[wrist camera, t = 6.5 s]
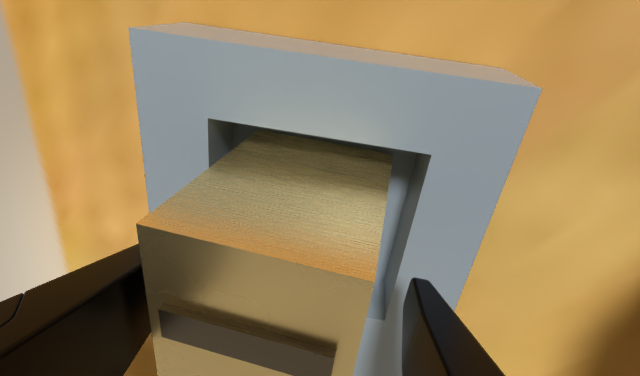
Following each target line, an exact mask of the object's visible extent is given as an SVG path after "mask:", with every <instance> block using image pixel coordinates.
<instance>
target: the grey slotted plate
mask: <svg viewBox="0 0 640 376" xmlns="http://www.w3.org/2000/svg"><path fill="white" fill-rule="evenodd" d="M129 37H130V45H131V54H132V63H133V72H134V81H135V90H136V99H137V108H138V117H139V126H140V135H141V143H142V152H143V161H144V170H145V179H146V188H147V197H148V206H149V214H150V213H151V212H152V211H153V210H155V209H156V208H157V207H159V206H160V205H161V204H163V203H164V202H165V201H166V200H168V199H169V198H170V197H172V196H173V195H174V194H176V193H177V192H178V191H179V190H181V189H182V188H183V187H185V186H186V185H187V184H189V183H190V182H191V181H192V180H194V179H195V178H196V177H198V176H199V175H200V174H202V173H203V172H204V171H205V170H207V169H208V168H209V167H211V166H212V165H213V164H215V163H216V162H217V161H218V160H220V159H221V158H222V157H224V156H225V155H226V154H228V153H229V152H230V151H231V150H233V149H234V148H235V147H237V146H238V145H239V144H241V143H242V142H243V141H244V140H246V139H247V138H248V137H250V136H251V135H252V134H254V133H255V132H256V131H257V130H265V131H270V132H275V133H281V134H286V135H291V136H296V137H302V138H307V139H312V140H317V141H323V142H328V143H333V144H338V145H344V146H349V147H354V148H359V149H365V150H370V151H375V152H380V153H386V154H391V155H393V162H392V169H391V176H390V183H389V189H388V196H387V203H386V210H385V216H384V223H383V230H382V237H381V243H380V250H379V257H378V264H377V270H376V277H375V283H374V288H373V292H372V296H371V300H370V304H369V309H368V313H367V317H366V321H365V325H364V329H363V334H362V338H361V342H360V346H359V350H358V355H357V359H356V363H355V367H354V371H353V376H402V322H403V304H404V300H405V297H406V293H407V290H408V287H409V283H410V281H411V279H412V278H414V277H416V278H421V279H426V280H429V281H430V282H431V283H432V285H433V286H434V287H435V288H436V290H437V291H438V292H439V293H440V295H441V296H442V297H443V298H444V300H445V301H446V302H447V303H448V305H449V306H450V307H451V308H452V310H453V311H454V310H455V307H456V305H457V302H458V300H459V297H460V295H461V292H462V290H463V287H464V285H465V282H466V280H467V277H468V275H469V272H470V270H471V267H472V265H473V262H474V259H475V257H476V254H477V252H478V249H479V247H480V244H481V242H482V239H483V237H484V234H485V232H486V229H487V227H488V224H489V222H490V219H491V217H492V214H493V212H494V209H495V207H496V204H497V202H498V199H499V196H500V194H501V191H502V189H503V186H504V184H505V181H506V179H507V176H508V174H509V171H510V169H511V166H512V164H513V161H514V159H515V156H516V154H517V151H518V149H519V146H520V144H521V141H522V138H523V136H524V133H525V131H526V128H527V126H528V123H529V121H530V118H531V116H532V113H533V111H534V108H535V106H536V103H537V101H538V98H539V96H540V93H541V91H542V88H540V87H538V86H536V85H534V84H533V83H531V82H529V81H527V80H525V79H523V78H521V77H519V76H517V75H515V74H513V73H511V72H509V71H507V70H505V69H503V68H497V67H490V66H484V65H477V64H470V63H463V62H456V61H449V60H442V59H435V58H428V57H421V56H414V55H407V54H401V53H394V52H387V51H380V50H373V49H366V48H359V47H352V46H345V45H338V44H331V43H324V42H318V41H311V40H304V39H297V38H290V37H283V36H276V35H269V34H262V33H255V32H248V31H242V30H235V29H228V28H221V27H214V26H207V25H200V24H193V23H186V22H183V23H172V24H162V25H151V26H140V27H129Z"/></svg>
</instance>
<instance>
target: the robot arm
mask: <svg viewBox="0 0 640 376" xmlns="http://www.w3.org/2000/svg"><path fill="white" fill-rule="evenodd" d="M150 333H151V325H150V318H149V311H148V304H147V297H146V290H145V283H144V276H143V269H142V261H141V254H140V247H139V244H136V245H134V246H132V247H129V248H127V249H125V250H122V251H120V252H118V253H115V254H113V255H110V256H108V257H106V258H103V259H101V260H99V261H96V262H94V263H92V264H89V265H87V266H84V267H82V268H80V269H77V270H75V271H73V272H70V273H68V274H66V275H63V276H61V277H58V278H56V279H54V280H51V281H49V282H47V283H44V284H42V285H39V286H37V287H35V288H33V289H30V290H28V291H26V292H25V293H24V294H23V293H21V294H18V295H16V296H13V297H11V298H9V299H6V300H4V301H2V302H0V376H123V375H124V373H125V372H126V370H127V369H128V367H129V366H130V364H131V362H132V361H133V359H134V358H135V356H136V355H137V353H138V351H139V350H140V348H141V347H142V345H143V344H144V342H145V340H146V339H147V337H148V336H149V334H150ZM402 376H505V375H504V373H503V372H502V371H501V370H500V368H499V367H498V366H497V365H496V363H495V362H494V361H493V360H492V358H491V357H490V356H489V355H488V353H487V352H486V351H485V350H484V348H483V347H482V346H481V345H480V343H479V342H478V341H477V340H476V338H475V337H474V336H473V335H472V333H471V332H470V331H469V330H468V328H467V327H466V326H465V325H464V323H463V322H462V321H461V320H460V318H459V317H458V316H457V315H456V313H455V312H454V311H453V310H452V308H451V307H450V306H449V305H448V303H447V302H446V301H445V300H444V298H443V297H442V296H441V295H440V293H439V292H438V291H437V290H436V288H435V287H434V286H433V285H432V283H431V282H430V281H429V280H426V279H421V278H416V277H414V278H412V279H411V281H410V283H409V287H408V290H407V293H406V297H405V300H404V304H403V322H402Z"/></svg>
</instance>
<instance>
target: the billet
mask: <svg viewBox="0 0 640 376" xmlns="http://www.w3.org/2000/svg"><path fill="white" fill-rule="evenodd" d="M392 162H393V155H391V154H386V153H380V152H375V151H370V150H365V149H359V148H354V147H349V146H344V145H338V144H333V143H328V142H323V141H317V140H312V139H307V138H302V137H296V136H291V135H286V134H281V133H275V132H270V131H265V130H257V131H256V132H255V133H254V134H252V135H251V136H250V137H248V138H247V139H246V140H244V141H243V142H242V143H241V144H239V145H238V146H237V147H235V148H234V149H233V150H231V151H230V152H229V153H228V154H226V155H225V156H224V157H222V158H221V159H220V160H218V161H217V162H216V163H215V164H213V165H212V166H211V167H209V168H208V169H207V170H205V171H204V172H203V173H202V174H200V175H199V176H198V177H196V178H195V179H194V180H192V181H191V182H190V183H189V184H187V185H186V186H185V187H183V188H182V189H181V190H179V191H178V192H177V193H176V194H174V195H173V196H172V197H170V198H169V199H168V200H166V201H165V202H164V203H163V204H161V205H160V206H159V207H157V208H156V209H155V210H153V211H152V212H151V213H150V214H148V215H147V216H146V217H144V218H143V219H142V220H140V221H139V222H138V223H137V224H136V226H137V233H138V240H139V247H140V254H141V261H142V269H143V276H144V283H145V290H146V297H147V304H148V311H149V318H150V325H151V332H152V340H153V347H154V354H155V361H156V368H157V375H158V376H353V371H354V367H355V363H356V359H357V355H358V350H359V346H360V342H361V338H362V334H363V329H364V325H365V321H366V317H367V313H368V309H369V304H370V300H371V296H372V292H373V288H374V283H375V277H376V270H377V264H378V257H379V250H380V243H381V237H382V230H383V223H384V216H385V210H386V203H387V196H388V189H389V183H390V176H391V169H392Z"/></svg>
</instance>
